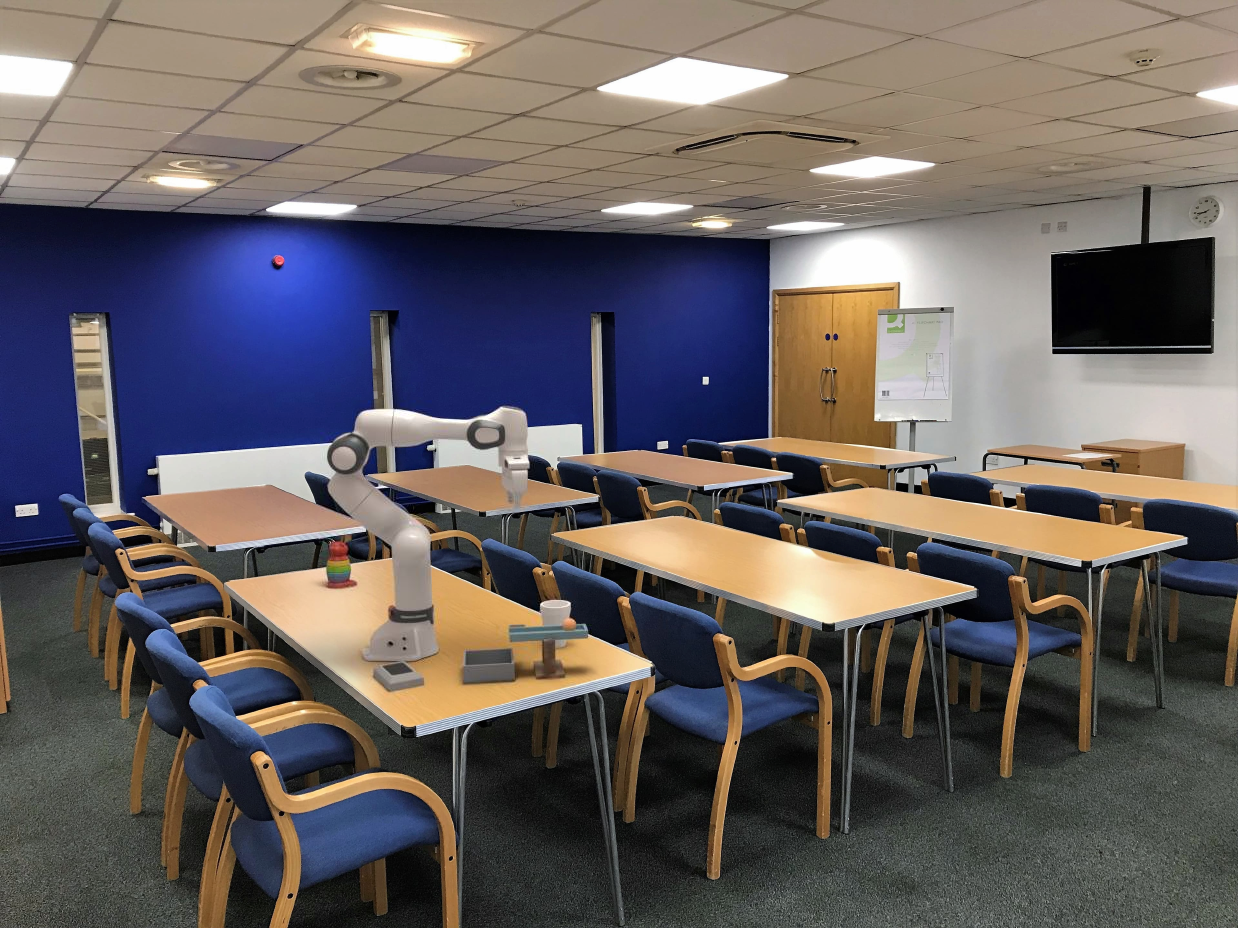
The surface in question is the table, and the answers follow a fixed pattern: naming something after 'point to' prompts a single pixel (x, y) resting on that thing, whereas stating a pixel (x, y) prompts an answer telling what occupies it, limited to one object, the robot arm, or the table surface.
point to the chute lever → (545, 633)
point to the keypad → (397, 676)
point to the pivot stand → (548, 662)
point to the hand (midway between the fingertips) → (514, 505)
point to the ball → (569, 625)
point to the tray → (488, 666)
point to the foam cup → (555, 615)
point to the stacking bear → (339, 567)
